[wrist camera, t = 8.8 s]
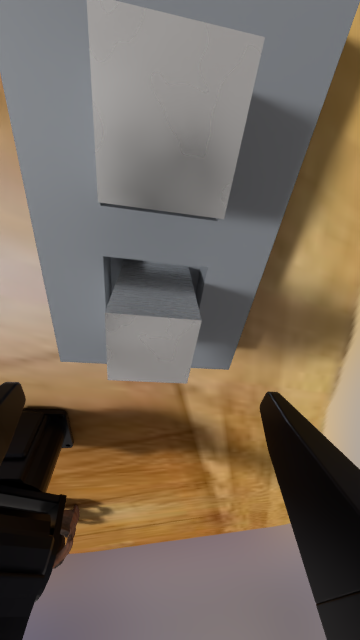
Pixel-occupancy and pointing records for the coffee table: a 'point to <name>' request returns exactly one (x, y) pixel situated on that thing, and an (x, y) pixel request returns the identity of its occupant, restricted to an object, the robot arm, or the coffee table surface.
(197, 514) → the coffee table surface
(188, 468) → the coffee table surface
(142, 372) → the billet
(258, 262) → the pallet
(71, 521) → the brown looped piece
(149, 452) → the coffee table surface
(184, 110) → the block
